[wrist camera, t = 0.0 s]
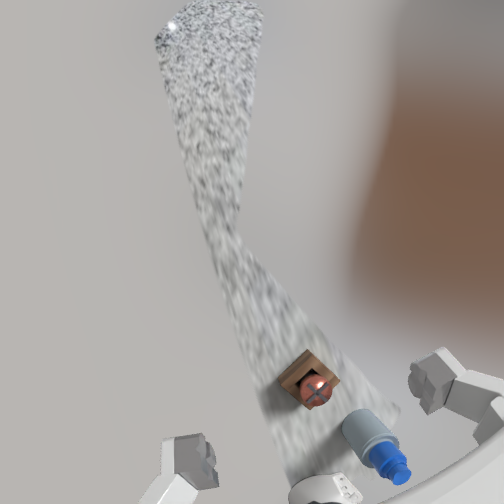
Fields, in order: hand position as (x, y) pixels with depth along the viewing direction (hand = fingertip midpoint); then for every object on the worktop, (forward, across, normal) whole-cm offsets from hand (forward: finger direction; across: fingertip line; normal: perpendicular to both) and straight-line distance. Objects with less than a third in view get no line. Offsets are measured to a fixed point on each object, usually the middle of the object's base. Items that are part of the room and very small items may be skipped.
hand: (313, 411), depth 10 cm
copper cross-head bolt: (+38, +6, -43) cm, 58 cm away
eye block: (+38, +6, -43) cm, 58 cm away
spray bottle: (+30, +15, -59) cm, 68 cm away
